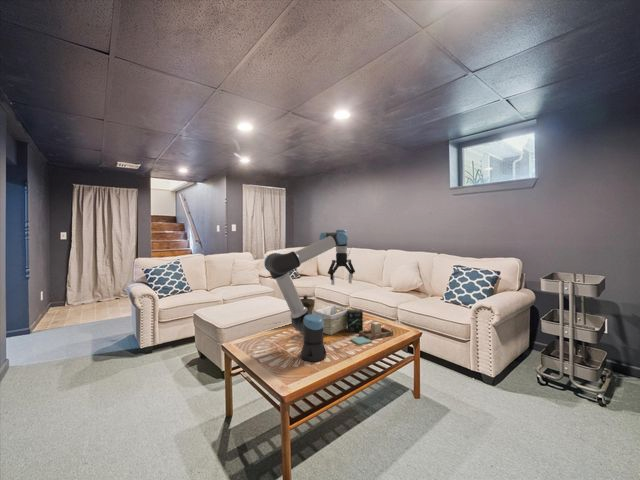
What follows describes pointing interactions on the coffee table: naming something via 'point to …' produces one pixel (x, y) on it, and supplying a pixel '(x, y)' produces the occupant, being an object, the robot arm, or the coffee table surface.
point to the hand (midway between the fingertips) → (341, 284)
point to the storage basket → (333, 319)
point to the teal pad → (361, 340)
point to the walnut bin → (383, 334)
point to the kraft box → (375, 328)
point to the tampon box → (355, 320)
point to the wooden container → (308, 304)
